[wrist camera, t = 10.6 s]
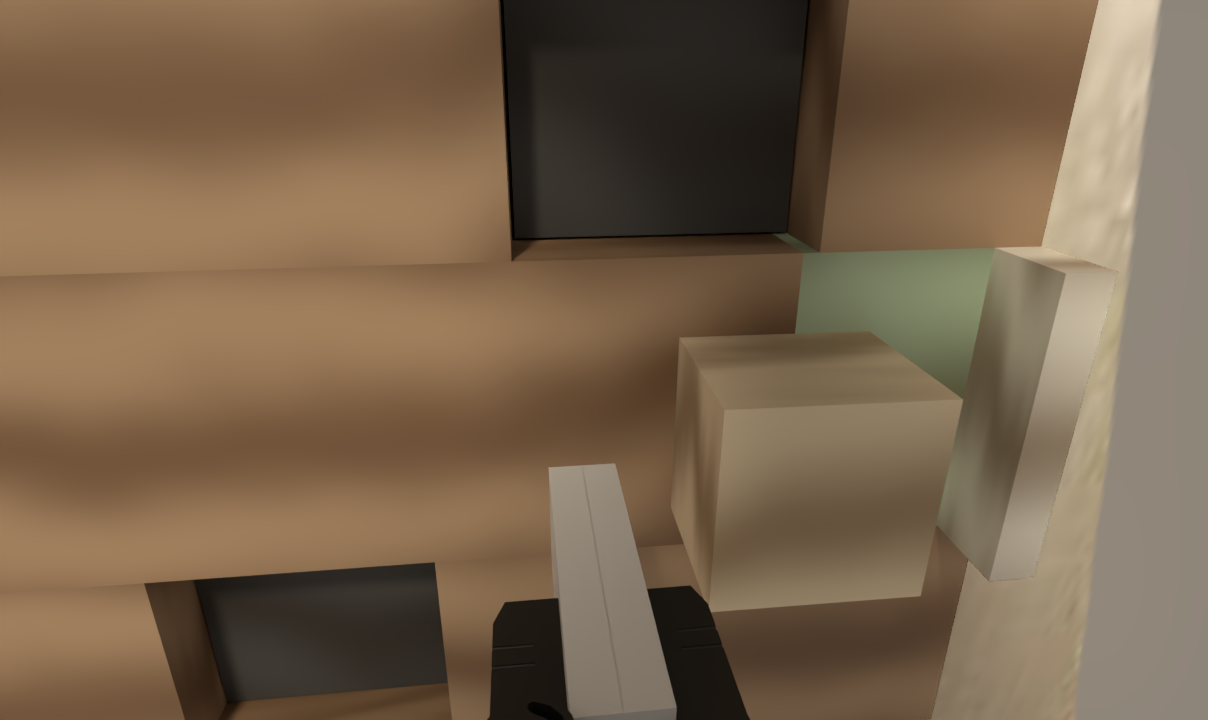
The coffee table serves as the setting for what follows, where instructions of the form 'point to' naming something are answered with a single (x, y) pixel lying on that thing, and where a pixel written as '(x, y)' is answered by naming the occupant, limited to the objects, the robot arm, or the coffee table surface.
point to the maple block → (807, 468)
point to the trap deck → (490, 323)
